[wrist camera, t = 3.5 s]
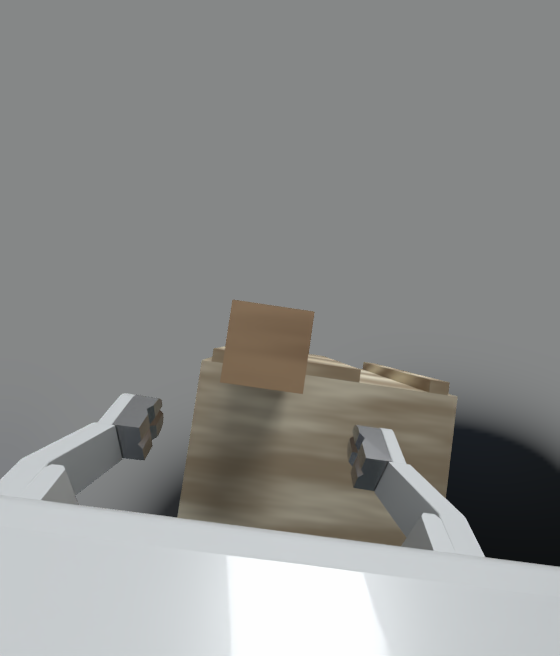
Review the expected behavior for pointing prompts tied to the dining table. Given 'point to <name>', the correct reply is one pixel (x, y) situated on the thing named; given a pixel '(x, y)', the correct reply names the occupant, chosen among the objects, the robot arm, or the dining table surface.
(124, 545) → the robot arm
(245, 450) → the slotted stand
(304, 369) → the rail bar
